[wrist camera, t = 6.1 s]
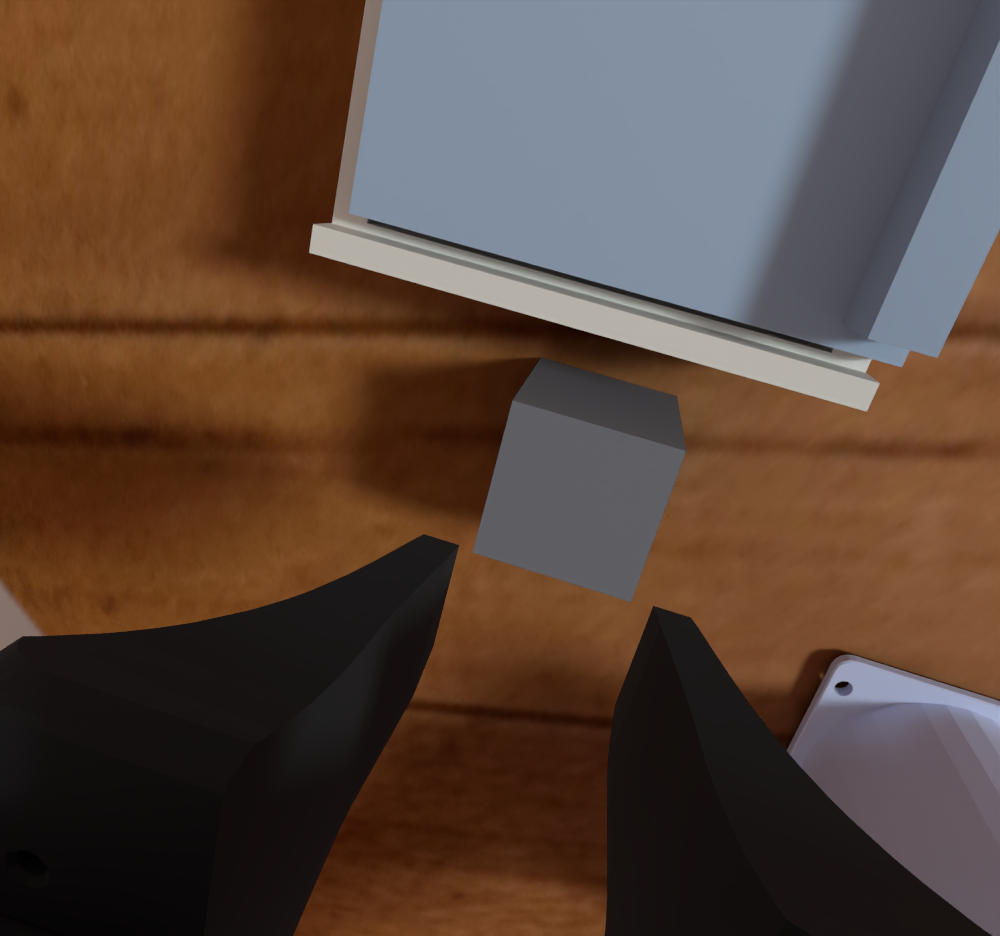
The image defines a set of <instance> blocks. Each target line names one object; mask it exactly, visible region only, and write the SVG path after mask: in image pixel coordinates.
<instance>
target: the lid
mask: <svg viewBox="0 0 1000 936" xmlns="http://www.w3.org/2000/svg"><path fill="white" fill-rule="evenodd" d="M349 213H350V214H354V215H357V216H361V217H364V218H368V219H372V220H375V221H379V222H382V223H386V224H389V225H393V226H397V227H400V228H404V229H407V230H411V231H415V232H418V233H422V234H425V235H429V236H433V237H436V238H440V239H443V240H447V241H450V242H454V243H458V244H461V245H465V246H468V247H472V248H476V249H479V250H483V251H486V252H490V253H494V254H497V255H501V256H504V257H508V258H512V259H515V260H519V261H522V262H526V263H529V264H533V265H537V266H540V267H544V268H547V269H551V270H555V271H558V272H562V273H565V274H569V275H573V276H576V277H580V278H583V279H587V280H590V281H594V282H598V283H601V284H605V285H608V286H612V287H616V288H619V289H623V290H626V291H630V292H634V293H637V294H641V295H644V296H648V297H651V298H655V299H659V300H662V301H666V302H669V303H673V304H677V305H680V306H684V307H687V308H691V309H695V310H698V311H702V312H705V313H709V314H713V315H716V316H720V317H723V318H727V319H730V320H734V321H738V322H741V323H745V324H748V325H752V326H756V327H759V328H763V329H766V330H770V331H774V332H777V333H781V334H784V335H788V336H791V337H795V338H799V339H802V340H806V341H809V342H813V343H817V344H820V345H824V346H827V347H831V348H835V349H838V350H842V351H845V352H849V353H853V354H856V355H860V356H863V357H867V358H870V359H874V360H878V361H881V362H885V363H888V364H892V365H896V366H899V367H902V366H903V364H904V362H905V359H906V357H907V355H908V353H909V351H910V350H911V351H914V352H918V353H921V354H925V355H929V356H932V357H936V358H938V355H939V353H940V351H941V349H942V347H943V345H944V343H945V341H946V339H947V337H948V335H949V333H950V331H951V329H952V327H953V324H954V322H955V320H956V318H957V316H958V314H959V312H960V310H961V308H962V306H963V304H964V302H965V300H966V298H967V296H968V293H969V291H970V289H971V287H972V285H973V283H974V281H975V279H976V277H977V275H978V273H979V271H980V269H981V267H982V265H983V262H984V260H985V258H986V256H987V254H988V252H989V250H990V248H991V246H992V244H993V242H994V240H995V238H996V236H997V234H998V232H999V229H1000V0H383V2H382V8H381V14H380V20H379V27H378V33H377V39H376V46H375V52H374V58H373V64H372V71H371V77H370V83H369V89H368V96H367V102H366V108H365V114H364V121H363V127H362V133H361V139H360V146H359V152H358V158H357V164H356V171H355V177H354V183H353V189H352V196H351V202H350V208H349Z"/></svg>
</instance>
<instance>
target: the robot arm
mask: <svg viewBox="0 0 1000 936" xmlns="http://www.w3.org/2000/svg"><path fill="white" fill-rule="evenodd" d="M458 547H459V545H457V544H453V543H450V542H447V541H444V540H441V539H437V538H434V537H431V536H428V535H425V534H424V535H422V536H420V537H418V538H416V539H414V540H412V541H410V542H408V543H406V544H405V545H403V546H401V547H399V548H398V549H396V550H394V551H392V552H390V553H389V554H387V555H385V556H383V557H381V558H379V559H378V560H376V561H374V562H372V563H370V564H368V565H366V566H364V567H362V568H360V569H358V570H356V571H354V572H352V573H350V574H348V575H346V576H344V577H341V578H339V579H337V580H335V581H332V582H330V583H328V584H325V585H323V586H321V587H318V588H316V589H314V590H311V591H309V592H306V593H303V594H301V595H298V596H295V597H292V598H289V599H286V600H283V601H280V602H276V603H273V604H270V605H267V606H263V607H260V608H256V609H253V610H249V611H244V612H240V613H235V614H231V615H226V616H222V617H217V618H212V619H208V620H203V621H199V622H194V623H188V624H182V625H175V626H168V627H161V628H154V629H145V630H136V631H127V632H116V633H104V634H81V635H59V636H28V637H27V636H23V637H21V638H20V639H18V640H16V641H15V642H14V643H12V644H10V645H9V646H7V647H6V648H4V649H3V650H1V651H0V936H293V934H294V932H295V930H296V927H297V925H298V923H299V920H300V918H301V916H302V913H303V911H304V909H305V906H306V904H307V902H308V899H309V897H310V895H311V892H312V890H313V888H314V885H315V883H316V881H317V879H318V876H319V874H320V872H321V870H322V867H323V865H324V863H325V860H326V858H327V856H328V854H329V851H330V849H331V847H332V845H333V842H334V840H335V838H336V835H337V833H338V831H339V829H340V827H341V825H342V823H343V821H344V819H345V817H346V815H347V813H348V811H349V809H350V807H351V805H352V803H353V802H354V800H355V798H356V796H357V795H358V793H359V791H360V789H361V787H362V786H363V784H364V782H365V780H366V779H367V777H368V775H369V773H370V772H371V770H372V768H373V766H374V764H375V763H376V761H377V759H378V757H379V756H380V754H381V752H382V750H383V749H384V747H385V745H386V743H387V741H388V740H389V738H390V736H391V734H392V733H393V731H394V729H395V727H396V725H397V724H398V722H399V720H400V718H401V717H402V715H403V713H404V711H405V709H406V708H407V706H408V704H409V702H410V700H411V698H412V697H413V695H414V692H415V690H416V687H417V685H418V683H419V680H420V678H421V675H422V673H423V670H424V668H425V665H426V663H427V660H428V658H429V656H430V653H431V651H432V648H433V645H434V641H435V637H436V633H437V629H438V626H439V622H440V618H441V614H442V610H443V606H444V602H445V598H446V594H447V590H448V586H449V582H450V579H451V575H452V571H453V567H454V563H455V559H456V555H457V551H458ZM841 681H846V682H849V684H848V685H847V686H846V687H843V688H836V687H835V685H836V684H837V683H838V682H841ZM605 936H1000V701H998V700H995V699H992V698H989V697H985V696H982V695H979V694H976V693H973V692H969V691H966V690H963V689H960V688H957V687H953V686H950V685H947V684H944V683H941V682H938V681H934V680H931V679H928V678H925V677H922V676H918V675H915V674H912V673H909V672H906V671H902V670H899V669H896V668H893V667H890V666H886V665H883V664H880V663H877V662H874V661H870V660H867V659H864V658H861V657H858V656H855V655H848V654H847V655H842V656H839V657H837V658H836V659H834V661H833V662H832V663H831V665H830V667H829V669H828V671H827V673H826V675H825V676H824V678H823V680H822V682H821V684H820V686H819V688H818V690H817V692H816V694H815V696H814V698H813V700H812V702H811V704H810V706H809V708H808V710H807V712H806V714H805V716H804V718H803V720H802V722H801V723H800V725H799V727H798V729H797V731H796V733H795V735H794V737H793V739H792V741H791V743H790V745H789V747H788V749H787V751H786V750H785V748H784V747H783V746H782V745H781V743H780V742H779V741H778V740H777V738H776V737H775V736H774V735H773V733H772V732H771V731H770V730H769V728H768V727H767V726H766V725H765V723H764V722H763V721H762V720H761V718H760V717H759V716H758V714H757V713H756V712H755V710H754V709H753V708H752V706H751V705H750V704H749V702H748V701H747V700H746V698H745V697H744V695H743V694H742V693H741V691H740V690H739V688H738V687H737V685H736V684H735V683H734V681H733V680H732V678H731V677H730V675H729V674H728V672H727V671H726V669H725V668H724V666H723V665H722V663H721V662H720V660H719V659H718V657H717V656H716V654H715V653H714V651H713V650H712V648H711V647H710V645H709V644H708V642H707V641H706V639H705V638H704V636H703V634H702V633H701V631H700V630H699V628H698V627H697V626H696V624H695V623H694V621H693V620H692V619H691V618H690V617H687V616H684V615H681V614H677V613H674V612H671V611H668V610H665V609H661V608H658V607H655V606H653V608H652V611H651V614H650V616H649V619H648V621H647V624H646V627H645V629H644V632H643V634H642V637H641V640H640V642H639V645H638V647H637V650H636V653H635V655H634V658H633V660H632V663H631V666H630V668H629V671H628V673H627V676H626V679H625V681H624V684H623V686H622V689H621V692H620V694H619V697H618V699H617V702H616V705H615V710H614V717H613V724H612V731H611V738H610V746H609V754H608V777H607V913H606V929H605Z"/></svg>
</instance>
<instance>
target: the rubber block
mask: <svg viewBox="0 0 1000 936" xmlns="http://www.w3.org/2000/svg"><path fill="white" fill-rule="evenodd" d="M685 453H686V447H685V441H684V436H683V430H682V424H681V418H680V412H679V406H678V400H677V396H674V395H670V394H667V393H663V392H660V391H656V390H653V389H650V388H646V387H643V386H639V385H636V384H632V383H629V382H625V381H622V380H618V379H615V378H611V377H608V376H604V375H601V374H597V373H594V372H590V371H587V370H583V369H580V368H576V367H573V366H569V365H566V364H562V363H559V362H555V361H552V360H548V359H545V358H541V359H540V360H539V362H538V363H537V365H536V366H535V368H534V369H533V371H532V372H531V374H530V375H529V376H528V378H527V379H526V381H525V382H524V384H523V385H522V387H521V388H520V390H519V391H518V393H517V394H516V396H515V397H514V399H513V400H512V404H511V408H510V412H509V416H508V420H507V423H506V427H505V431H504V435H503V439H502V443H501V446H500V450H499V454H498V458H497V462H496V465H495V469H494V473H493V477H492V481H491V485H490V488H489V492H488V496H487V500H486V504H485V507H484V511H483V515H482V519H481V523H480V527H479V530H478V534H477V538H476V542H475V546H474V549H473V553H476V554H479V555H482V556H485V557H489V558H492V559H495V560H498V561H501V562H505V563H508V564H511V565H514V566H517V567H521V568H524V569H527V570H530V571H533V572H537V573H540V574H543V575H546V576H549V577H553V578H556V579H559V580H562V581H565V582H569V583H572V584H575V585H578V586H581V587H585V588H588V589H591V590H594V591H597V592H601V593H604V594H607V595H610V596H613V597H617V598H620V599H623V600H626V601H629V602H631V600H632V598H633V595H634V592H635V589H636V587H637V584H638V581H639V579H640V576H641V573H642V570H643V568H644V565H645V562H646V559H647V557H648V554H649V551H650V549H651V546H652V543H653V540H654V538H655V535H656V532H657V529H658V527H659V524H660V521H661V518H662V516H663V513H664V510H665V508H666V505H667V502H668V499H669V497H670V494H671V491H672V488H673V486H674V483H675V480H676V478H677V475H678V472H679V469H680V467H681V464H682V461H683V458H684V456H685Z"/></svg>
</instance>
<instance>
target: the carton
mask: <svg viewBox="0 0 1000 936" xmlns="http://www.w3.org/2000/svg"><path fill="white" fill-rule="evenodd" d="M382 2H383V0H366V2H365V8H364V15H363V22H362V28H361V35H360V41H359V48H358V54H357V61H356V68H355V74H354V81H353V87H352V94H351V100H350V107H349V114H348V120H347V127H346V133H345V140H344V146H343V153H342V160H341V166H340V173H339V179H338V186H337V192H336V199H335V206H334V212H333V219H332V223H323V224H313V229H312V236H311V243H310V250H309V253H312V254H315V255H319V256H322V257H326V258H329V259H333V260H336V261H340V262H344V263H347V264H351V265H354V266H358V267H361V268H365V269H368V270H372V271H375V272H379V273H382V274H386V275H389V276H393V277H396V278H400V279H403V280H407V281H410V282H414V283H417V284H421V285H424V286H428V287H431V288H435V289H438V290H442V291H445V292H449V293H452V294H456V295H459V296H463V297H466V298H470V299H473V300H477V301H480V302H484V303H487V304H491V305H495V306H498V307H502V308H505V309H509V310H512V311H516V312H519V313H523V314H526V315H530V316H533V317H537V318H540V319H544V320H547V321H551V322H554V323H558V324H561V325H565V326H568V327H572V328H575V329H579V330H582V331H586V332H589V333H593V334H596V335H600V336H603V337H607V338H610V339H614V340H617V341H621V342H624V343H628V344H631V345H635V346H638V347H642V348H645V349H649V350H653V351H656V352H660V353H663V354H667V355H670V356H674V357H677V358H681V359H684V360H688V361H691V362H695V363H698V364H702V365H705V366H709V367H712V368H716V369H719V370H723V371H726V372H730V373H733V374H737V375H740V376H744V377H747V378H751V379H754V380H758V381H761V382H765V383H768V384H772V385H775V386H779V387H782V388H786V389H789V390H793V391H796V392H800V393H803V394H807V395H811V396H814V397H818V398H821V399H825V400H828V401H832V402H835V403H839V404H842V405H846V406H849V407H853V408H856V409H860V410H863V411H867V410H868V408H869V406H870V403H871V401H872V399H873V397H874V395H875V393H876V390H877V388H878V386H879V384H880V383H879V382H877V381H876V380H875V379H873V378H872V377H871V376H869V375H868V374H867V373H866V371H867V368H868V366H869V364H870V362H871V359H870V358H867V357H863V356H860V355H856V354H853V353H849V352H845V351H842V350H838V349H835V348H831V347H827V346H824V345H820V344H817V343H813V342H809V341H806V340H802V339H799V338H795V337H791V336H788V335H784V334H781V333H777V332H774V331H770V330H766V329H763V328H759V327H756V326H752V325H748V324H745V323H741V322H738V321H734V320H730V319H727V318H723V317H720V316H716V315H713V314H709V313H705V312H702V311H698V310H695V309H691V308H687V307H684V306H680V305H677V304H673V303H669V302H666V301H662V300H659V299H655V298H651V297H648V296H644V295H641V294H637V293H634V292H630V291H626V290H623V289H619V288H616V287H612V286H608V285H605V284H601V283H598V282H594V281H590V280H587V279H583V278H580V277H576V276H573V275H569V274H565V273H562V272H558V271H555V270H551V269H547V268H544V267H540V266H537V265H533V264H529V263H526V262H522V261H519V260H515V259H512V258H508V257H504V256H501V255H497V254H494V253H490V252H486V251H483V250H479V249H476V248H472V247H468V246H465V245H461V244H458V243H454V242H450V241H447V240H443V239H440V238H436V237H433V236H429V235H425V234H422V233H418V232H415V231H411V230H407V229H404V228H400V227H397V226H393V225H389V224H386V223H382V222H379V221H375V220H372V219H368V218H364V217H361V216H357V215H354V214H350V213H349V208H350V202H351V196H352V189H353V183H354V177H355V171H356V164H357V158H358V152H359V146H360V139H361V133H362V127H363V121H364V114H365V108H366V102H367V96H368V89H369V83H370V77H371V71H372V64H373V58H374V52H375V46H376V39H377V33H378V27H379V20H380V14H381V8H382Z"/></svg>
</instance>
